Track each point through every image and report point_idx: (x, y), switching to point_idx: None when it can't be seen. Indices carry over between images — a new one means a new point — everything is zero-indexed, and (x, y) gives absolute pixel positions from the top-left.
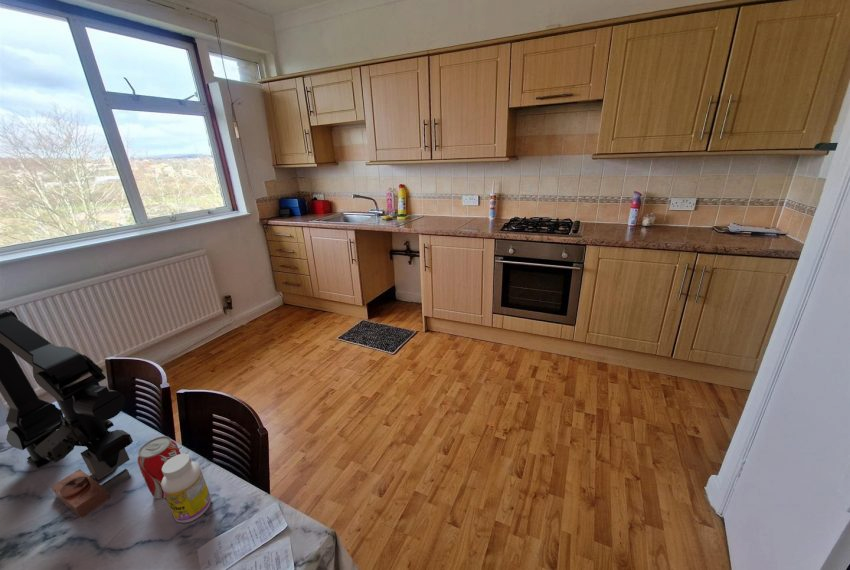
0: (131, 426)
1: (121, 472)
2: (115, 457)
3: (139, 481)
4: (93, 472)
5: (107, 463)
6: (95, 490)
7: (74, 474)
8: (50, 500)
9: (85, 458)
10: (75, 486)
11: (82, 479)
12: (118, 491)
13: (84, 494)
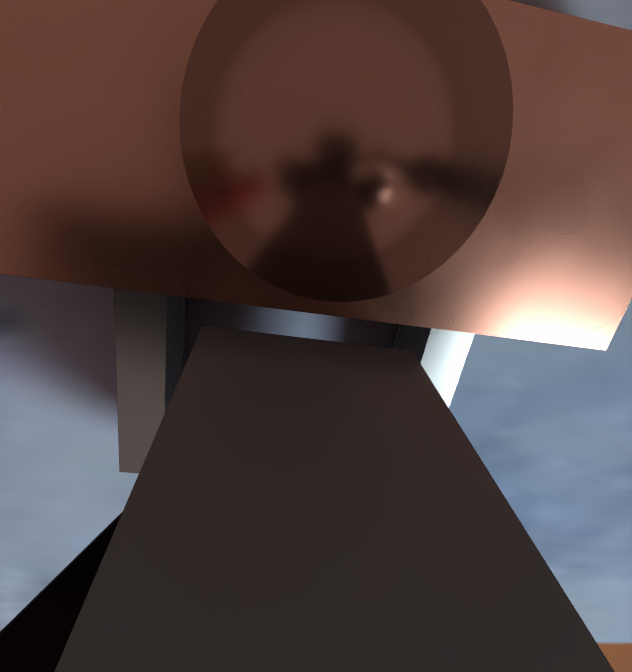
0: (615, 631)
1: (150, 441)
2: None
3: (13, 414)
4: (282, 374)
5: (76, 558)
6: (20, 204)
7: (595, 285)
8: (629, 26)
9: (364, 648)
10: (291, 132)
11: (333, 255)
12: (60, 302)
13: (85, 107)
